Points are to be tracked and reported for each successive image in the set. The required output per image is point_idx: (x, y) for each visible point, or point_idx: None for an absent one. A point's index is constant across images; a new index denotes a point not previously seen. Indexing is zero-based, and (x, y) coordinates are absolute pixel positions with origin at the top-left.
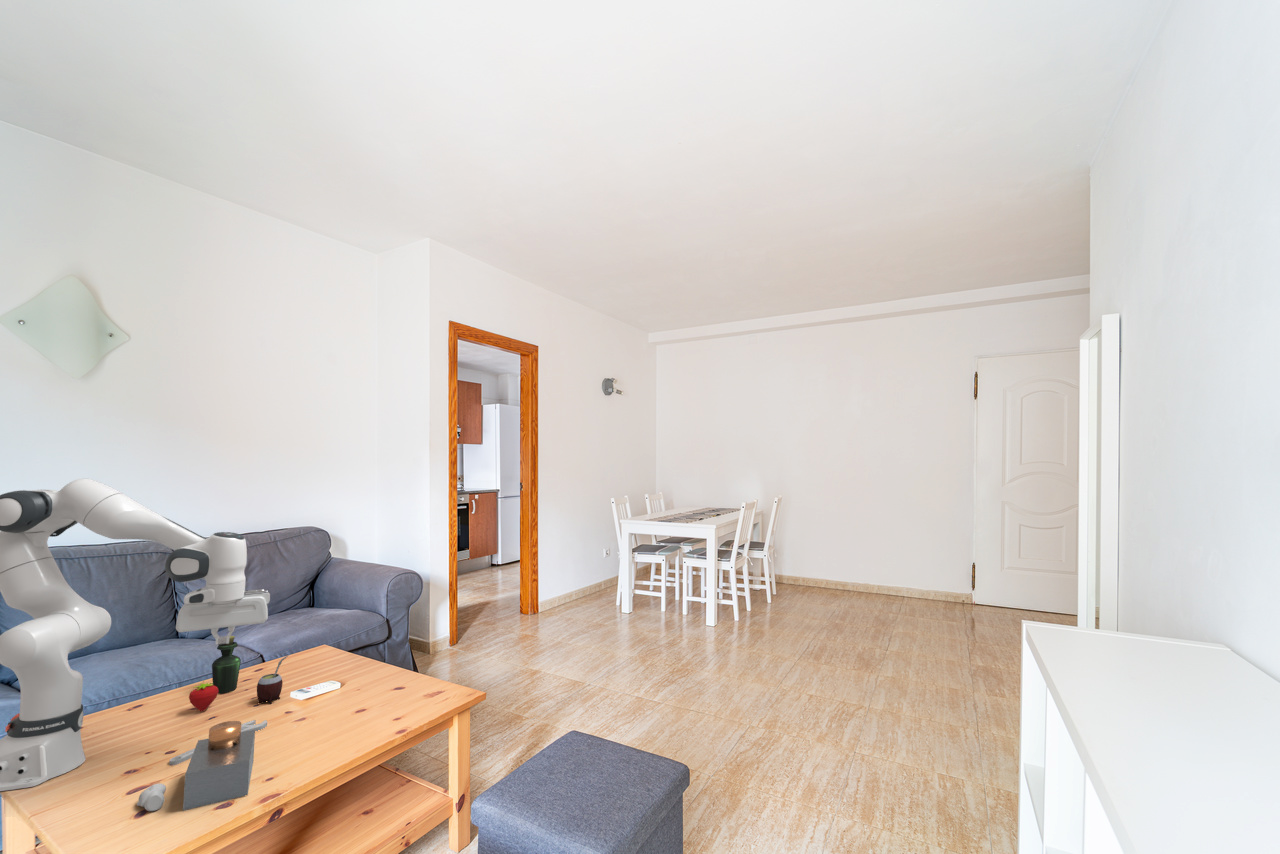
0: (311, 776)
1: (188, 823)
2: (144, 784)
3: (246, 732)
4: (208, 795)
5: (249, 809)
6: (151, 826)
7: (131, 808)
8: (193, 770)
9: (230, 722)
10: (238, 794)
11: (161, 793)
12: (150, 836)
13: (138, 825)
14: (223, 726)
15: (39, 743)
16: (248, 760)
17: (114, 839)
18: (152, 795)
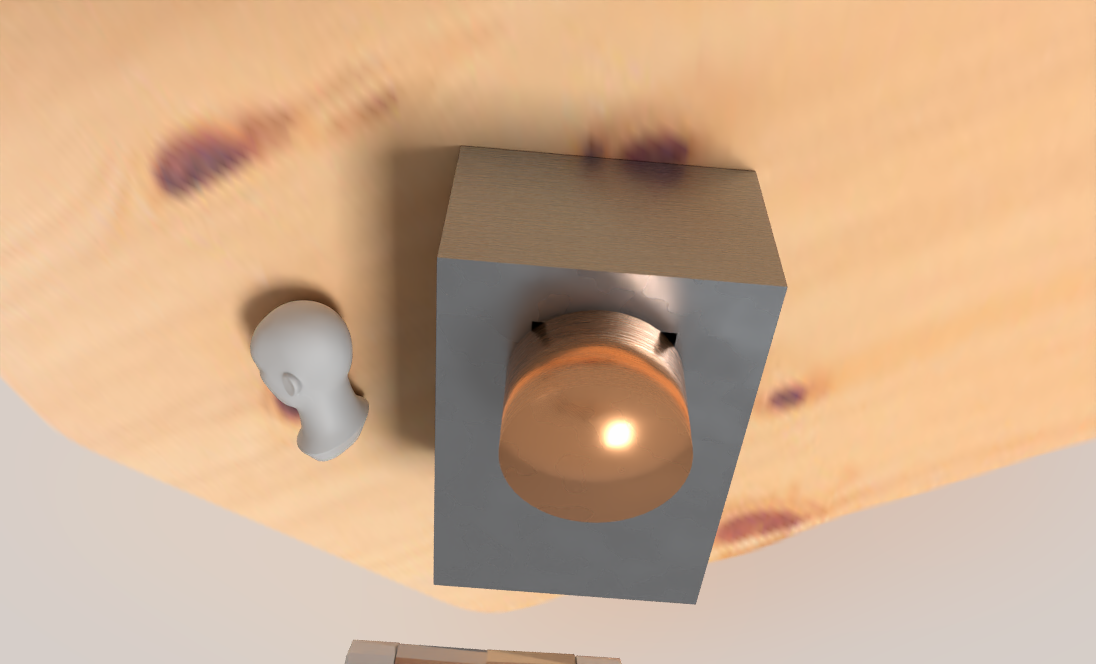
0: (942, 467)
1: None
2: (213, 123)
3: (730, 299)
4: None
5: None
6: (362, 495)
7: (240, 336)
8: (463, 574)
9: (628, 411)
10: None
11: (349, 439)
12: (375, 545)
13: (314, 468)
14: (583, 450)
15: None
16: (691, 602)
17: (261, 508)
18: (318, 460)
